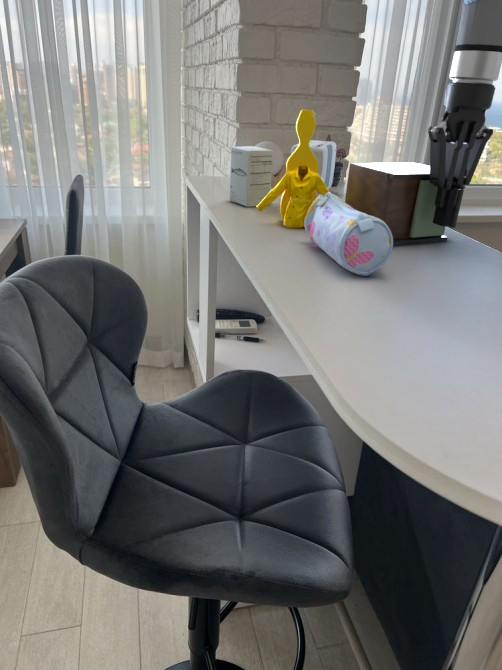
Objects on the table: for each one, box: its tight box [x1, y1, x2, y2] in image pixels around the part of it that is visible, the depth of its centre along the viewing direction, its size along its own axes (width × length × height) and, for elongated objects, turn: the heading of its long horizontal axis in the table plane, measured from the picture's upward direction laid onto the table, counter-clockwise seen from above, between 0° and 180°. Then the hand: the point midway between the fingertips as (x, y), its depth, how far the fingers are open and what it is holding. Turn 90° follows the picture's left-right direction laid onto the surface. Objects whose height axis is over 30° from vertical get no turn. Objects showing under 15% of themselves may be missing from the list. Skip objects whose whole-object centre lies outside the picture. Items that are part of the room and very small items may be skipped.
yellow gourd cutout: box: [290, 112, 337, 198], centre depth 131 cm, size 21×8×20 cm, turn 162°
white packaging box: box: [228, 145, 274, 208], centre depth 120 cm, size 7×7×13 cm
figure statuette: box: [255, 109, 331, 229], centre depth 101 cm, size 18×8×22 cm, turn 89°
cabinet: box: [344, 162, 448, 247], centre depth 99 cm, size 14×16×13 cm
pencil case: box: [304, 192, 394, 277], centre depth 84 cm, size 21×9×10 cm, turn 10°
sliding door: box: [409, 180, 465, 238], centre depth 94 cm, size 4×8×11 cm, turn 114°
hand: (440, 224), depth 94 cm, fingers closed
